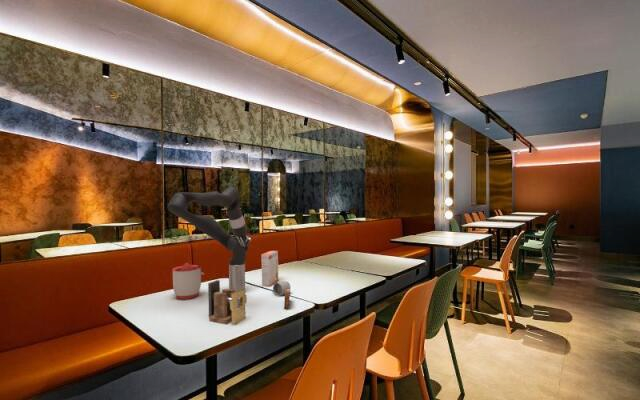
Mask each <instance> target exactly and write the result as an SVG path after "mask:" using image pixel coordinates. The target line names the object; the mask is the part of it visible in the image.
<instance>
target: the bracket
mask: <svg viewBox="0 0 640 400" xmlns="http://www.w3.org/2000/svg"><path fill="white" fill-rule="evenodd" d="M221 291H222V292H221ZM221 291H220V292H216V293H214V315H212V316H210V317H209V316H208V320H209V322H211V323H216V324H222V325H228V324H230V323H232V310H230V304H227V297H231V293H234V292H235V290H232V289H229V288H224V289H222V290H221Z"/></svg>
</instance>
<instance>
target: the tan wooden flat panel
mask: <svg viewBox="0 0 640 400" xmlns="http://www.w3.org/2000/svg"><path fill="white" fill-rule="evenodd" d="M231 298H232V300H231V301H230V310H232V322H231V325H234V326H235V325H237V324H239V323H240V322H242V321H243V320H246V304H248V303H247V301H248V300H247V299H248V298H247V294H246V288H245V289H240V290H238V291H236V292H234V293H231ZM237 299H241V301H242V302H241V304H240V305H237Z"/></svg>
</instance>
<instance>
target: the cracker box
mask: <svg viewBox="0 0 640 400" xmlns="http://www.w3.org/2000/svg"><path fill="white" fill-rule="evenodd" d="M278 252H279V251H278V250H270V251H266V252H264V253H261V254H260V255H261V259H260V260H261V286H262V287H271V286H274V284H275V283H277V282H280V281H279V255H278Z"/></svg>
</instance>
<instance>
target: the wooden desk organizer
mask: <svg viewBox="0 0 640 400" xmlns="http://www.w3.org/2000/svg"><path fill="white" fill-rule="evenodd" d="M220 281H221V280H220V279H219V280H218V279H216V280H213V281H211V282H208V284H207V285H208V289H207V290H208V292H207V293H208V298H207V299H208V318H209V317H210V316H212V315H214V293H216V292H221V290H220V289H221V288H220V286H221V283H220ZM231 300H232V298H231V297H227V304H230V301H231ZM241 302H242V301H241V299H240V298H239V299H237V306H238V305H240V304H241Z"/></svg>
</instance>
